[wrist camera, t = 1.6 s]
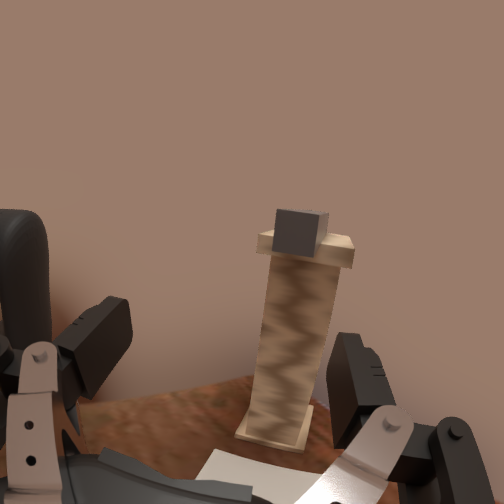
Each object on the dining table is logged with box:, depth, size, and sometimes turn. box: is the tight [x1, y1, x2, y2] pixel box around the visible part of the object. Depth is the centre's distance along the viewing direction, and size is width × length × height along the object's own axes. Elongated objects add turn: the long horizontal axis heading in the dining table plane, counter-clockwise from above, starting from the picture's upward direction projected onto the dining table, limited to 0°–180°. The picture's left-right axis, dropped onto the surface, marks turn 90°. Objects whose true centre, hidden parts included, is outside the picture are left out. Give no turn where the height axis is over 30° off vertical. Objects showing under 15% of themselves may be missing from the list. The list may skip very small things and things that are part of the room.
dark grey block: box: [272, 209, 329, 258], centre depth 32 cm, size 3×26×3 cm, turn 163°
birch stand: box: [235, 230, 355, 454], centre depth 39 cm, size 11×15×32 cm
